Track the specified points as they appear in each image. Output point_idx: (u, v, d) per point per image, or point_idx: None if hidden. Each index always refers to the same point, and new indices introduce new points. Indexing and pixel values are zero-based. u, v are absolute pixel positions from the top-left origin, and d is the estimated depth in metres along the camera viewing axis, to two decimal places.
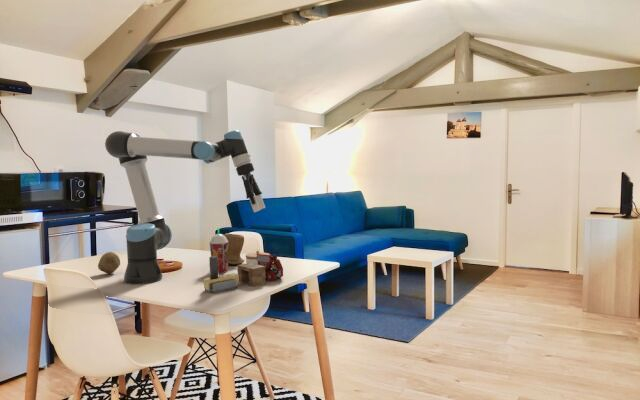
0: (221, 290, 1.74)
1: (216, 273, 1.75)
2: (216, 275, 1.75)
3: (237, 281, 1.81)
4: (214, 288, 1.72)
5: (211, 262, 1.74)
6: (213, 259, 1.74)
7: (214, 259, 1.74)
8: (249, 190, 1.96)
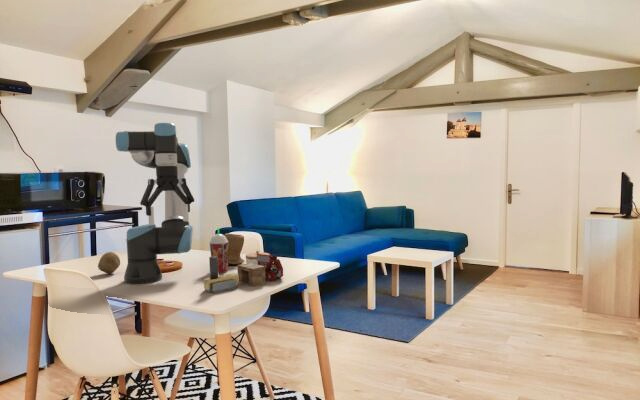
0: (221, 290, 1.74)
1: (216, 273, 1.75)
2: (216, 275, 1.75)
3: (237, 281, 1.81)
4: (214, 288, 1.72)
5: (211, 262, 1.74)
6: (213, 259, 1.74)
7: (214, 259, 1.74)
8: (144, 198, 1.64)
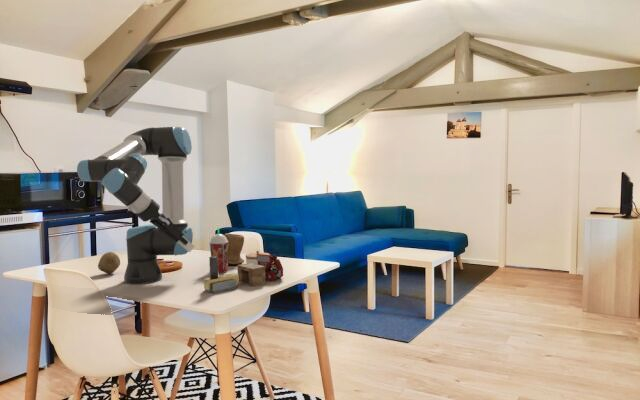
0: (221, 290, 1.74)
1: (216, 273, 1.75)
2: (216, 275, 1.75)
3: (237, 281, 1.81)
4: (214, 288, 1.72)
5: (211, 262, 1.74)
6: (213, 259, 1.74)
7: (214, 259, 1.74)
8: None
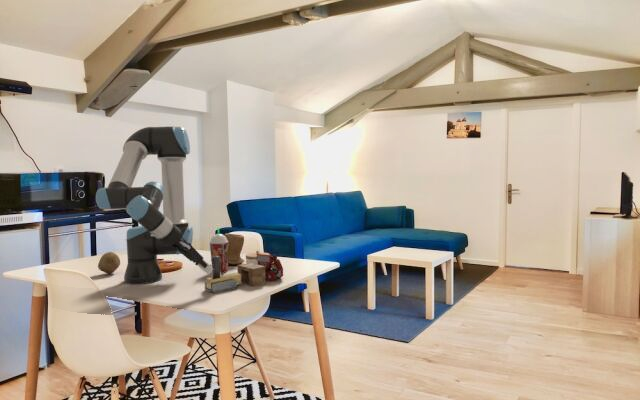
0: (221, 290, 1.74)
1: (218, 273, 1.75)
2: (218, 275, 1.75)
3: (239, 281, 1.81)
4: (214, 288, 1.72)
5: (213, 262, 1.75)
6: (215, 259, 1.75)
7: (216, 259, 1.75)
8: None
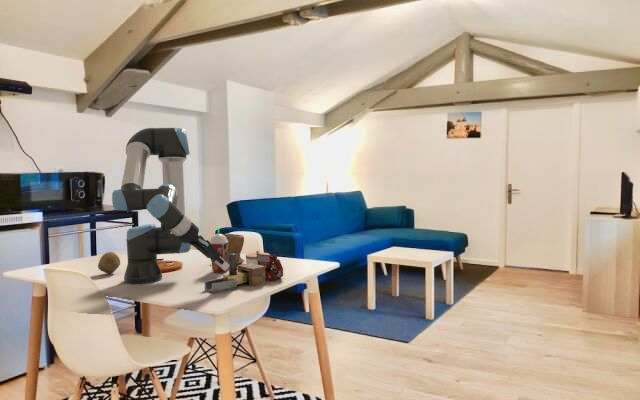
0: (221, 290, 1.74)
1: (235, 270, 1.80)
2: (235, 271, 1.80)
3: None
4: (214, 288, 1.72)
5: (230, 259, 1.79)
6: (232, 256, 1.79)
7: (233, 256, 1.79)
8: None
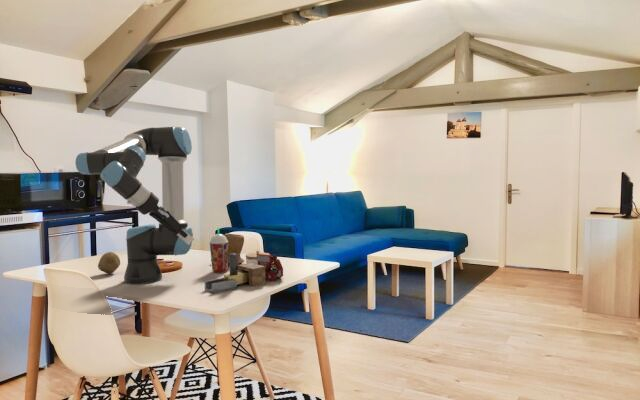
0: (221, 290, 1.74)
1: (236, 269, 1.80)
2: (236, 271, 1.80)
3: None
4: (214, 288, 1.72)
5: (231, 259, 1.80)
6: (233, 256, 1.80)
7: (234, 256, 1.80)
8: None
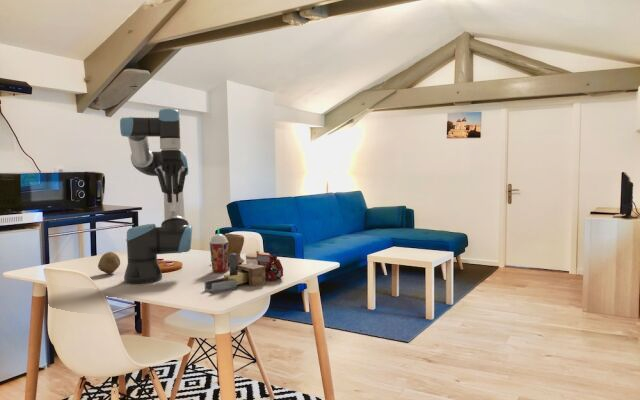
0: (221, 290, 1.74)
1: (236, 269, 1.80)
2: (236, 271, 1.80)
3: None
4: (214, 288, 1.72)
5: (231, 259, 1.80)
6: (233, 256, 1.80)
7: (234, 256, 1.80)
8: (162, 187, 1.76)
